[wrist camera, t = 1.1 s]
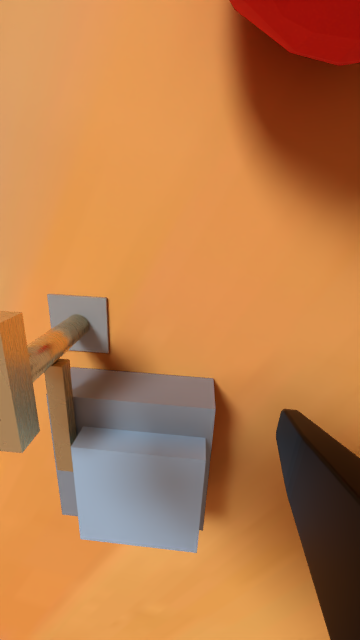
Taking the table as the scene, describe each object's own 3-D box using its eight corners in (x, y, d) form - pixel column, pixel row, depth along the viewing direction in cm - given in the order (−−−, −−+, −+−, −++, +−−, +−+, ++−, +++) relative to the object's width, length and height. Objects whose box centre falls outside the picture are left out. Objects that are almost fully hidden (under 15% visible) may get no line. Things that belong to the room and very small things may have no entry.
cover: (197, 525, 23) (196, 552, 21) (90, 513, 23) (80, 539, 21) (205, 437, 20) (205, 460, 18) (83, 426, 20) (70, 446, 18)
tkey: (98, 424, 25) (40, 534, 16) (76, 422, 25) (7, 530, 16) (88, 282, 20) (2, 324, 12) (62, 280, 20) (-42, 320, 12)
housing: (202, 486, 26) (202, 530, 23) (69, 473, 27) (47, 512, 23) (220, 305, 20) (224, 322, 17) (48, 294, 21) (15, 308, 17)
